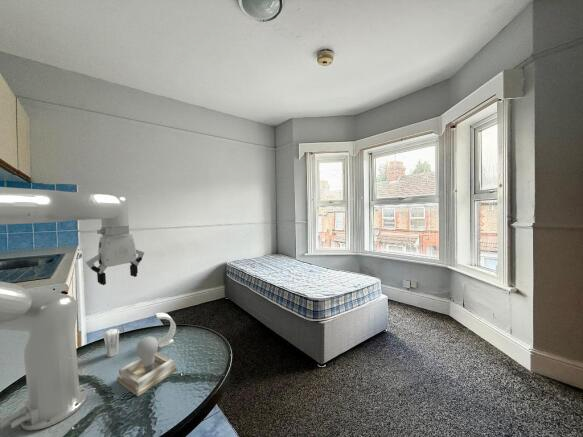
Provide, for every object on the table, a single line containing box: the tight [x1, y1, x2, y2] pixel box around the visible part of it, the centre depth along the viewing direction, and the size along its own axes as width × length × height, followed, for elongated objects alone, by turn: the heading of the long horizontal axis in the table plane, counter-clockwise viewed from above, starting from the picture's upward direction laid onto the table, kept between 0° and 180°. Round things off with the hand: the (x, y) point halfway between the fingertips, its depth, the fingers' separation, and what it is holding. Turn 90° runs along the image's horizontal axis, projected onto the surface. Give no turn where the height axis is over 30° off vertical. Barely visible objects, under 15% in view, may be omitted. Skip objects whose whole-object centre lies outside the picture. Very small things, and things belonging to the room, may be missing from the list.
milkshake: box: [103, 328, 120, 358], centre depth 86 cm, size 4×5×10 cm
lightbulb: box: [135, 336, 159, 372], centre depth 76 cm, size 6×6×11 cm
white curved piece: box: [154, 312, 177, 349], centre depth 93 cm, size 5×6×12 cm
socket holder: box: [116, 351, 177, 397], centre depth 75 cm, size 12×12×4 cm
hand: (119, 279), depth 83 cm, fingers open, 9 cm apart
